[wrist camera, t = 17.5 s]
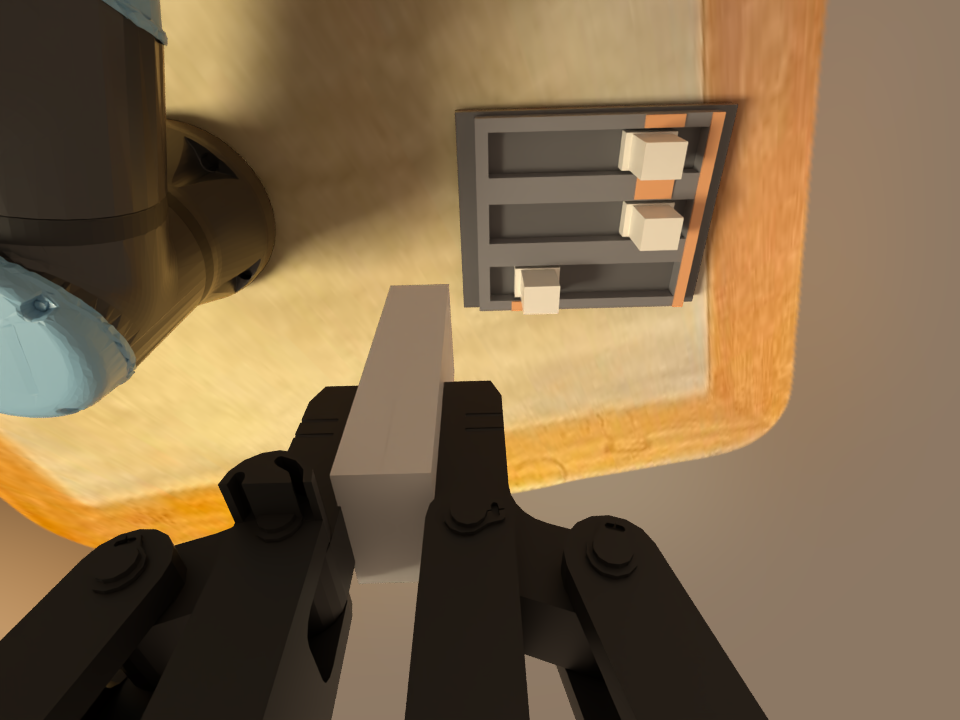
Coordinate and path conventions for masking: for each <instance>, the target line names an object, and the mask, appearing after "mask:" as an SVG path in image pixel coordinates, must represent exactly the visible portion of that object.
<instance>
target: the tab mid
mask: <svg viewBox="0 0 960 720" xmlns="http://www.w3.org/2000/svg"><path fill="white" fill-rule="evenodd" d="M674 205H675V203H674V202H673V201H672V200H645V201H623V205H622V213H621V220H620V227H619V233H620V234H621V236H622V237H630V239H631V240H632V241H633V242H634V244H635V245H636V246H637V248H638V249H639V250H640V251H656V250H677V249H678V244H679V239H680V234H681V230H682V225H683V220H684V217H682V216H681V215H680V214H679V213H678V212H677V211H676V210H674Z"/></svg>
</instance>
